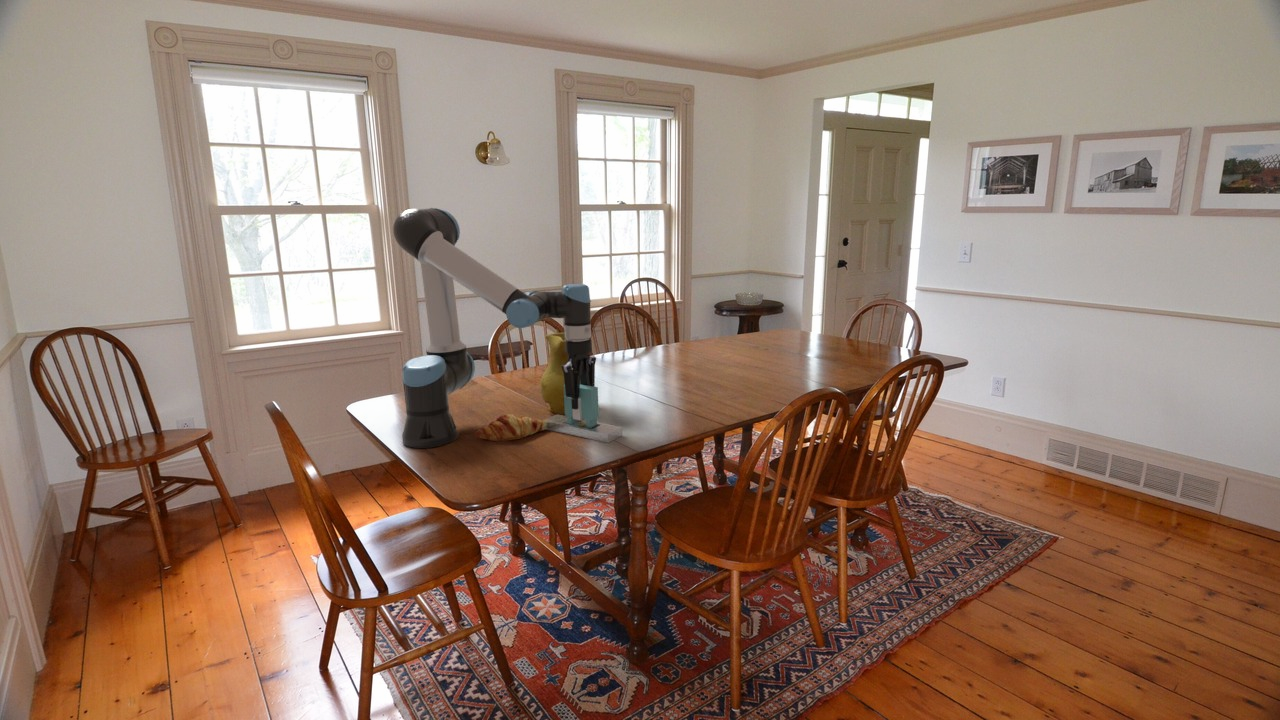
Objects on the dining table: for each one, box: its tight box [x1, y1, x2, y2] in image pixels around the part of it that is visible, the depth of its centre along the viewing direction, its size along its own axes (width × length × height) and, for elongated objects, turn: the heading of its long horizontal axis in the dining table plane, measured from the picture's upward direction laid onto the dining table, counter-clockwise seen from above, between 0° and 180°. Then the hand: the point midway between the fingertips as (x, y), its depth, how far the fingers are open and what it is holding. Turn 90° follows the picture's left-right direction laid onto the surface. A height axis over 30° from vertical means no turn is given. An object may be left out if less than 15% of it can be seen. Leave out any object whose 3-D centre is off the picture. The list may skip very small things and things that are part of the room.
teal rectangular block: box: [564, 384, 600, 428], centre depth 189 cm, size 3×10×12 cm, turn 57°
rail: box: [541, 413, 623, 444], centre depth 191 cm, size 7×24×2 cm, turn 58°
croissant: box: [474, 413, 547, 442], centre depth 189 cm, size 21×10×8 cm, turn 117°
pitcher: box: [540, 332, 591, 415], centre depth 212 cm, size 17×19×25 cm
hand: (581, 417), depth 190 cm, fingers closed on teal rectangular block, 3 cm apart
